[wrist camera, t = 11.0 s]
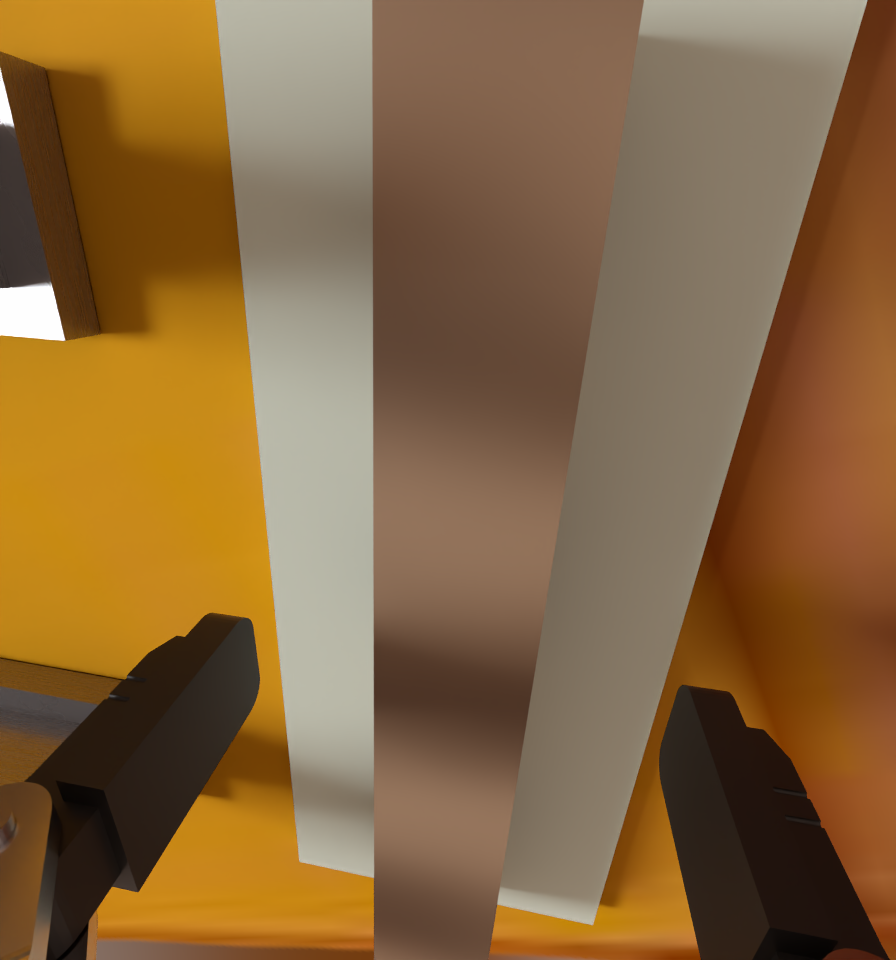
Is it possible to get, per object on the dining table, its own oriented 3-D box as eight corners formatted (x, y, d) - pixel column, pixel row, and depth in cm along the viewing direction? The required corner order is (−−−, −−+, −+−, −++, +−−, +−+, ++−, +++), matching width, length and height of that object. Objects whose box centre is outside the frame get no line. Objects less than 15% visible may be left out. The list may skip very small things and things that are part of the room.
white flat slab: (229, -37, 9) (210, -54, 8) (861, -41, 8) (886, -63, 7) (306, 844, 19) (299, 861, 18) (591, 904, 18) (592, 925, 17)
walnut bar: (426, 30, 8) (371, -74, 6) (617, 32, 8) (657, -79, 5) (400, 866, 17) (374, 980, 15) (490, 885, 17) (480, 1005, 14)
